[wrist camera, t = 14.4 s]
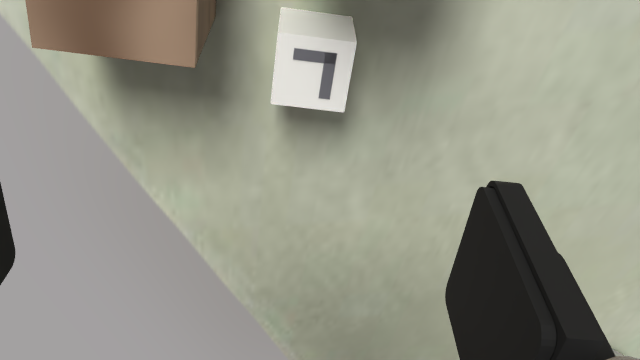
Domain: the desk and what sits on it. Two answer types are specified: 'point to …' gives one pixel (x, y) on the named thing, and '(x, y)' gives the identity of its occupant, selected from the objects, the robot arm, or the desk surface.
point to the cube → (313, 60)
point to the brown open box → (124, 28)
